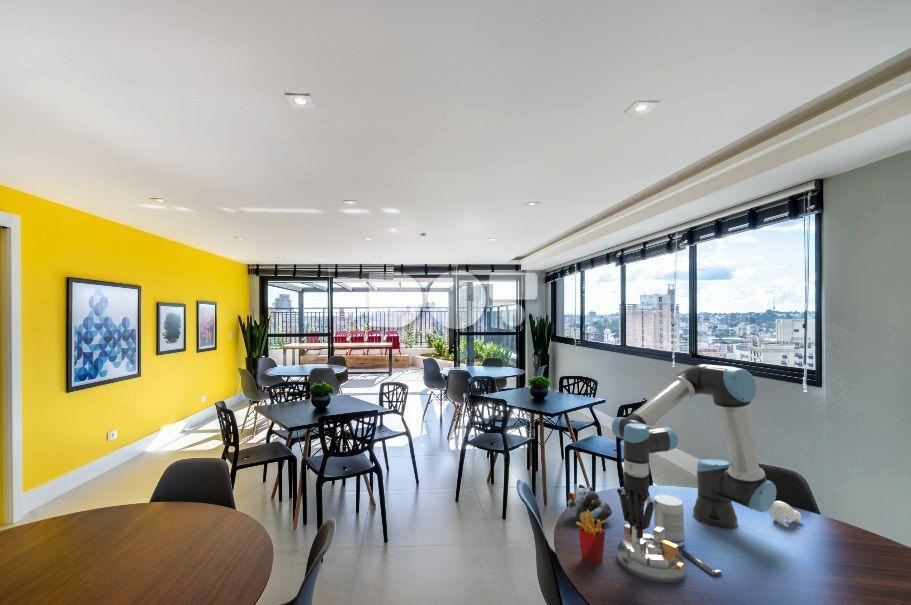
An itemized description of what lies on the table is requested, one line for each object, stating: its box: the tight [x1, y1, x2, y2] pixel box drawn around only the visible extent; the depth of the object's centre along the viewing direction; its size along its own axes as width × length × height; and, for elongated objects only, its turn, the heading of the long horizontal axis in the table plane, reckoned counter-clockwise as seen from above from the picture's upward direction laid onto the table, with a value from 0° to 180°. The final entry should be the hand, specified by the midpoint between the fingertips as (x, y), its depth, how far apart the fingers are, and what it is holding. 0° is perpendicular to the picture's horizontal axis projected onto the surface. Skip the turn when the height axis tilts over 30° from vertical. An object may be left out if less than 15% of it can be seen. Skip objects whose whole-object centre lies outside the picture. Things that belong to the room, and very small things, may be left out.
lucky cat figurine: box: [567, 484, 613, 527], centre depth 163 cm, size 15×12×14 cm
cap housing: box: [617, 539, 686, 584], centre depth 134 cm, size 20×20×6 cm
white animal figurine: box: [768, 500, 802, 528], centre depth 161 cm, size 6×8×12 cm
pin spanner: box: [680, 549, 723, 577], centre depth 134 cm, size 13×3×2 cm, turn 14°
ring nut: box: [622, 523, 680, 569], centre depth 134 cm, size 16×16×6 cm
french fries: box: [575, 510, 607, 567], centre depth 136 cm, size 9×8×15 cm
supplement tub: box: [653, 494, 685, 548], centre depth 148 cm, size 10×10×15 cm
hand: (636, 546), depth 131 cm, fingers closed
